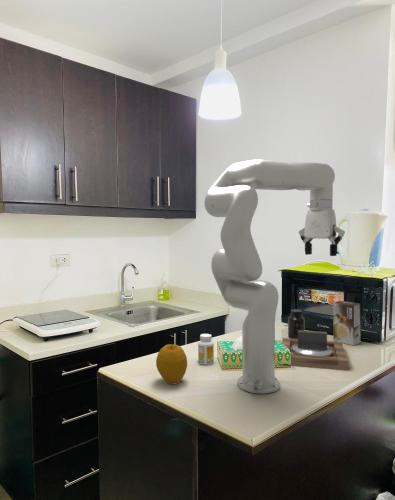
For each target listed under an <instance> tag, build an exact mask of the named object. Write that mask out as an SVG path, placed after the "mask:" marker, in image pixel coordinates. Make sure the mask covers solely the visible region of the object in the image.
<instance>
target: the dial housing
mask: <svg viewBox="0 0 395 500" xmlns="http://www.w3.org/2000/svg"><path fill="white" fill-rule="evenodd" d="M297 343H298V339H292V338H288V337H282V340H281V345H282V344H284V345H285V346H286V347H287V348H288V349H289V350H290V352H291V365H292V366H294V367H303V368H305V367H306V368H314V369H315V368H317V369H326V370H327V369H329V370H341V371H349V360H348V356H347V354H346V352H345V348H344V344H343V343H342V342H337V341H333V340H327V346H329V347H331V348H332V349H333V355H332V356H331V357H323V356H310V355H297V354H294V353H293V352H292V346H293V345H294V344H297ZM291 365H290V366H291ZM292 366H291V367H292Z"/></svg>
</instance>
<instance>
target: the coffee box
mask: <svg viewBox="0 0 395 500" xmlns="http://www.w3.org/2000/svg"><path fill="white" fill-rule="evenodd" d="M332 305H333V310H332V311H333V312H332V313H333V314H332V315H333V318H332V320H333V329H332V330H333V332H332V333H333V340H332V341H337V342H342V344H346V345H350V346H356V345H358V344H360V343H361V342H362V341H361V317H362V316H361V313H362V312H361V311H362V309H361V305H362V304H361V303H359V302H351V301H346V300H345V301H343V300H338V301H335V302H333V304H332Z"/></svg>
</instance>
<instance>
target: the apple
mask: <svg viewBox="0 0 395 500" xmlns="http://www.w3.org/2000/svg"><path fill="white" fill-rule="evenodd" d="M187 357H188V356H187V355H186V353H185V351H184V349H183V347H182V346H180V345H178V344H171V343H169V344H166V345H164V346H163V347H161V348H160V350H159V351H158V353H157V356H156V358H155V359H156V360H155V365H156V369H157V372H158V373H159V375H160V376H161V378H162V379H163V380H164V381H165V382H166V383H167V384H170V383H177V384H179V383H180V382H182V380H183V378H184V377H185V374H186V372H187V371H186V370H187V368H188V359H187ZM178 382H179V383H178Z"/></svg>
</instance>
